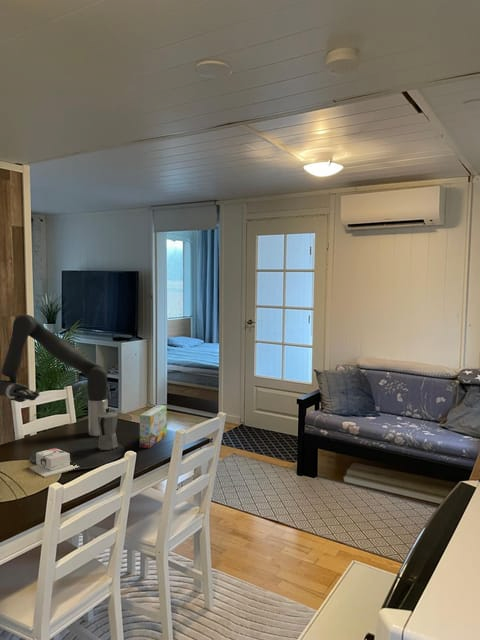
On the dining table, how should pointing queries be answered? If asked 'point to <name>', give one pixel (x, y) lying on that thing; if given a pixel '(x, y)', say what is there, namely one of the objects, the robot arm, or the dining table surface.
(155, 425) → the snack box
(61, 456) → the ink box
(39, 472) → the mat
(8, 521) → the dining table surface
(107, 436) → the coffeepot
